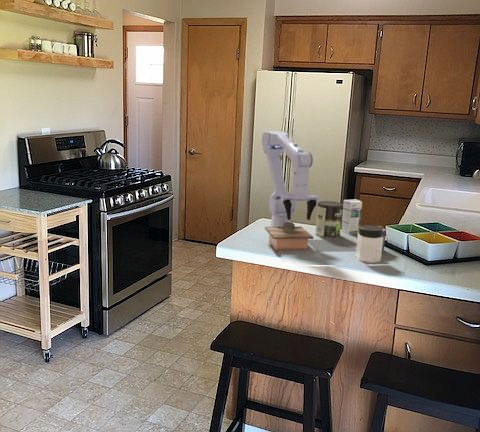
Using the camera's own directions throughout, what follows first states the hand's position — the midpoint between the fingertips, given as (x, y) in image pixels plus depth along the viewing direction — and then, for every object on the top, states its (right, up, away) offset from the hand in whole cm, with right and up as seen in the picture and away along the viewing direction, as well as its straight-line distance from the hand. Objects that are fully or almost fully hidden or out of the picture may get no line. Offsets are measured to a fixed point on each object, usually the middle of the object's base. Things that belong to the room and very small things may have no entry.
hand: (298, 219), depth 194 cm
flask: (+29, -13, -3) cm, 32 cm away
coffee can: (+14, -7, +18) cm, 24 cm away
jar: (+23, -15, -12) cm, 30 cm away
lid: (-4, -5, 0) cm, 7 cm away
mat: (+13, -11, +3) cm, 17 cm away
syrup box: (+25, -6, +25) cm, 36 cm away
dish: (-4, -10, +1) cm, 11 cm away
